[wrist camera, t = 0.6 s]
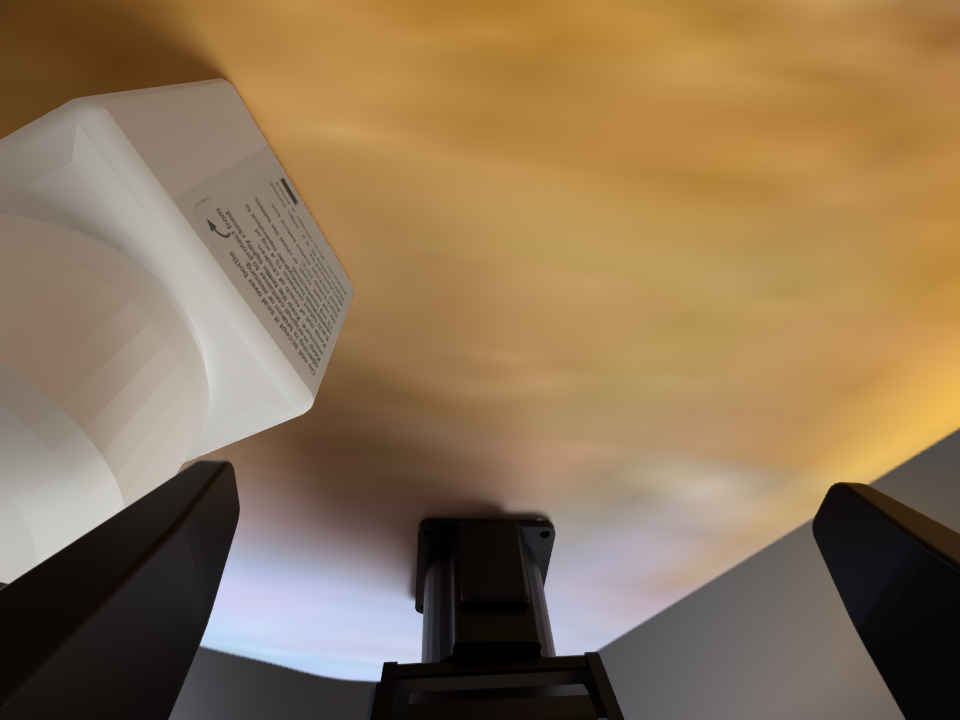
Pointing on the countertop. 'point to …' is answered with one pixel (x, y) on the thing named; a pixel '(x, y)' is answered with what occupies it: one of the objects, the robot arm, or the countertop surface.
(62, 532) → the container
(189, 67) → the countertop surface
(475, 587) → the robot arm
